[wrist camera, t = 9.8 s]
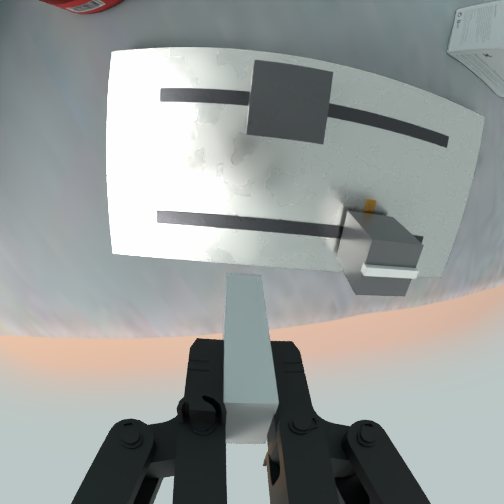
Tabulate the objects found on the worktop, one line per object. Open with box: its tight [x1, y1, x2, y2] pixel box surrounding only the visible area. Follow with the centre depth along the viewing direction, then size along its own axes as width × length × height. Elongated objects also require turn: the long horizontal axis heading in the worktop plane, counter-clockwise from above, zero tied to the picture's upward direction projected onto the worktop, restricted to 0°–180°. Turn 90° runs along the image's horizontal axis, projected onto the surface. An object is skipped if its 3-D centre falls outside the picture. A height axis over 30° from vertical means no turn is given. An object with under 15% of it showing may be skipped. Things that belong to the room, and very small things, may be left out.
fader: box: [336, 210, 424, 296], centre depth 20 cm, size 4×4×5 cm
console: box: [107, 47, 485, 278], centre depth 20 cm, size 30×16×8 cm, turn 84°
